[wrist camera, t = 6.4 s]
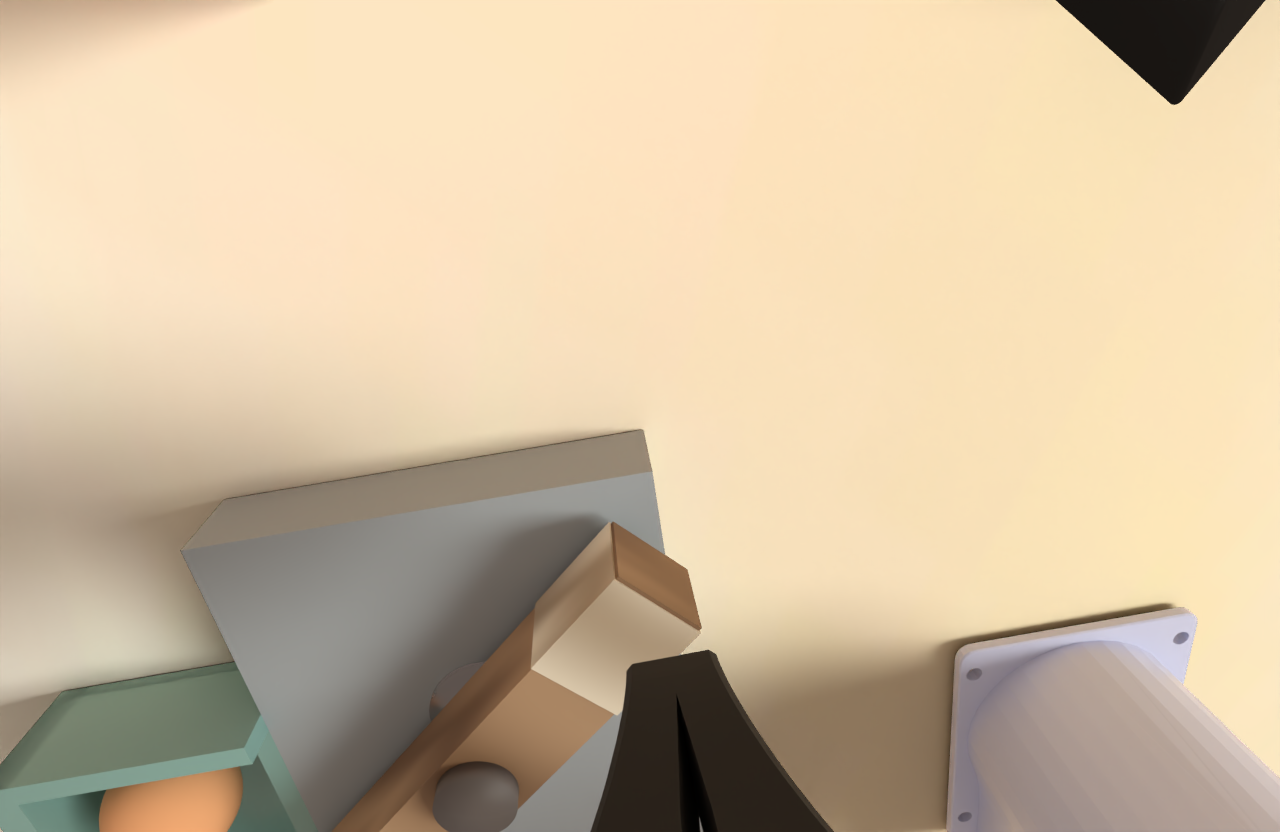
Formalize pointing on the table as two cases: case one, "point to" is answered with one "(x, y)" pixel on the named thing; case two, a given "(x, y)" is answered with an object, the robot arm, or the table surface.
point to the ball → (175, 804)
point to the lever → (537, 693)
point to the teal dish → (147, 752)
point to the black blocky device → (1165, 35)
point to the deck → (409, 602)
